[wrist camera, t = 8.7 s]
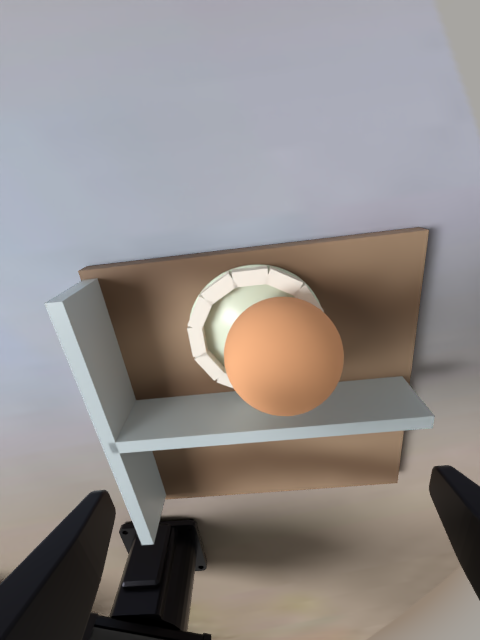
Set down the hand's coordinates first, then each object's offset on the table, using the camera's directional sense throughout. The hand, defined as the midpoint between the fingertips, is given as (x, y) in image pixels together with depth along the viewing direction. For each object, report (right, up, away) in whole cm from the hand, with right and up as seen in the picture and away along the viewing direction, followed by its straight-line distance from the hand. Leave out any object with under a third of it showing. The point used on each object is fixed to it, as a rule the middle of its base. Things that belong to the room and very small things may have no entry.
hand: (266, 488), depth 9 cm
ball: (+1, +3, +6) cm, 7 cm away
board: (+1, 0, +12) cm, 12 cm away
